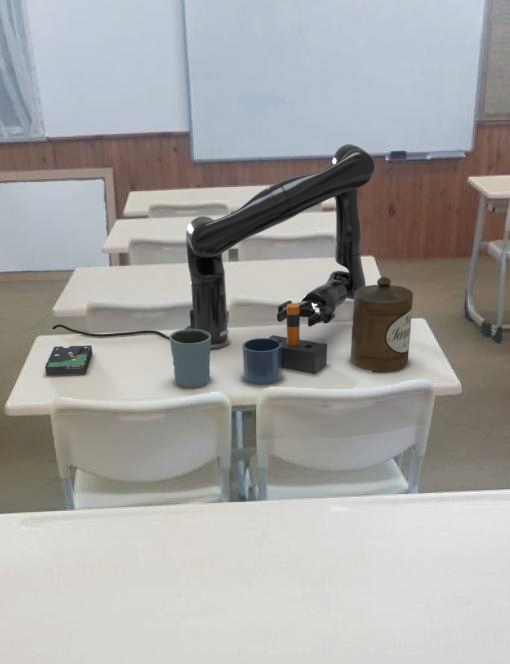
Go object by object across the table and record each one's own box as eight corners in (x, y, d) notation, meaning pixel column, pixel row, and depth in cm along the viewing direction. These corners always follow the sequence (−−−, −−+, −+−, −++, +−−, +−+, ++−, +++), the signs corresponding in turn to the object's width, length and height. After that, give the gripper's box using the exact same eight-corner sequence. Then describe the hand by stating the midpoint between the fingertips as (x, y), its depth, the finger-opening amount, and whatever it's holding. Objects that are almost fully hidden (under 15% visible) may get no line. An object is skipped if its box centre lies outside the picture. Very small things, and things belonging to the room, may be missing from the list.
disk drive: (54, 356, 230) (46, 376, 217) (53, 346, 228) (44, 366, 216) (93, 354, 230) (86, 374, 218) (91, 344, 229) (85, 364, 216)
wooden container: (402, 375, 212) (408, 288, 200) (344, 369, 216) (347, 283, 204) (412, 354, 224) (419, 271, 212) (357, 349, 228) (361, 267, 216)
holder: (260, 365, 220) (259, 343, 217) (272, 356, 225) (272, 334, 222) (314, 375, 213) (315, 353, 210) (326, 366, 219) (327, 344, 215)
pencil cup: (236, 382, 211) (235, 348, 206) (255, 369, 218) (254, 335, 213) (270, 389, 207) (270, 354, 202) (288, 375, 214) (288, 341, 209)
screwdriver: (284, 365, 219) (284, 306, 210) (290, 361, 221) (290, 302, 212) (296, 367, 217) (296, 308, 209) (301, 363, 220) (301, 304, 211)
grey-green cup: (179, 372, 217) (176, 327, 211) (217, 375, 216) (215, 329, 209) (168, 388, 209) (164, 341, 203) (207, 390, 207) (205, 344, 201)
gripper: (297, 284, 226) (268, 302, 214) (346, 291, 220) (319, 309, 208) (297, 312, 230) (269, 330, 218) (345, 319, 224) (319, 338, 212)
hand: (293, 320), depth 213 cm, fingers open, 8 cm apart
